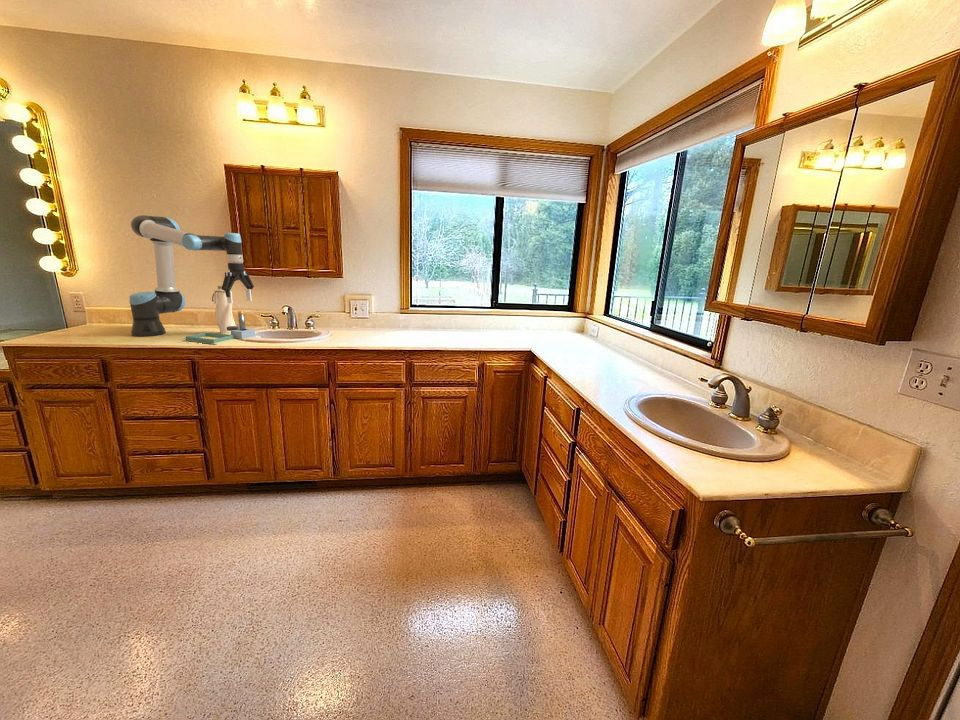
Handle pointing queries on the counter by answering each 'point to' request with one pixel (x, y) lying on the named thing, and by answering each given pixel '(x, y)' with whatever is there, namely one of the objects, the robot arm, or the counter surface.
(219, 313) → the water bottle
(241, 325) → the lock pin
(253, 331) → the tensioner block
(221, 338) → the tray
